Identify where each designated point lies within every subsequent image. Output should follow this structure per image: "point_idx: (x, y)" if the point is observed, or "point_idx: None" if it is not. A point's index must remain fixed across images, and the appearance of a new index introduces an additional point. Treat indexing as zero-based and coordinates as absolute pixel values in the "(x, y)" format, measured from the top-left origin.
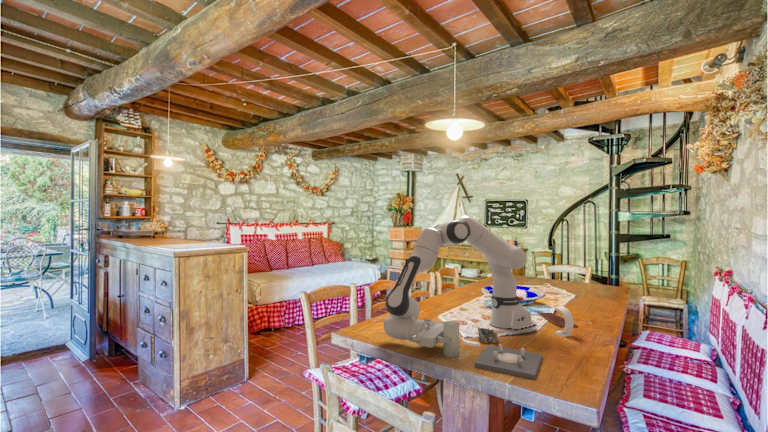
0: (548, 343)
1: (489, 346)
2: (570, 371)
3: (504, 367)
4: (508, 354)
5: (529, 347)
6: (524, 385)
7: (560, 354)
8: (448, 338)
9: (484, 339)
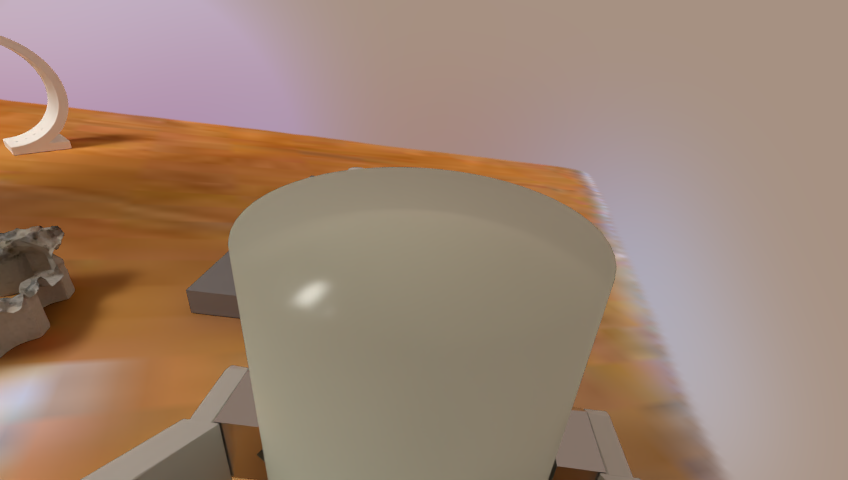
0: (138, 172)
1: (223, 285)
2: None
3: None
4: None
5: (183, 203)
6: None
7: (261, 166)
8: (603, 418)
9: (26, 317)
